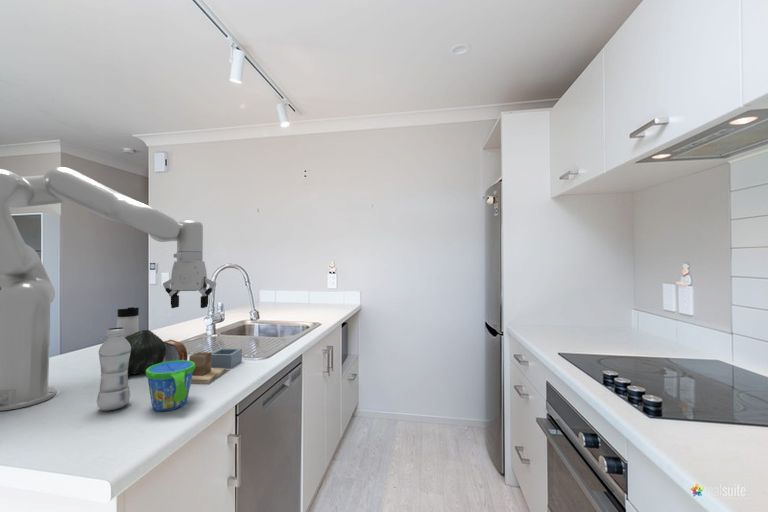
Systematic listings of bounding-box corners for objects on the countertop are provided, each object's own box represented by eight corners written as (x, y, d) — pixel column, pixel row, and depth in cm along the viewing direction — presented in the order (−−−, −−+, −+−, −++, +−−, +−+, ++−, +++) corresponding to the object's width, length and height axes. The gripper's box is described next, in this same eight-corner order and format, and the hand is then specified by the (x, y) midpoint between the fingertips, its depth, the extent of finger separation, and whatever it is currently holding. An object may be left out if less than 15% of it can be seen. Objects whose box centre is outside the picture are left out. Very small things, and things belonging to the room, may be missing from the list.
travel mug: (118, 365, 114) (120, 308, 115) (113, 361, 118) (115, 306, 119) (140, 361, 119) (141, 306, 120) (134, 357, 123) (135, 305, 124)
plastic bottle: (102, 416, 77) (105, 332, 77) (92, 409, 80) (94, 328, 81) (134, 406, 82) (136, 327, 83) (123, 400, 86) (125, 324, 86)
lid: (207, 383, 98) (208, 359, 98) (171, 382, 98) (172, 359, 98) (225, 370, 109) (226, 350, 109) (193, 370, 109) (194, 349, 109)
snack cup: (200, 410, 81) (201, 369, 81) (149, 424, 74) (150, 379, 74) (186, 391, 92) (187, 355, 93) (141, 401, 85) (142, 362, 85)
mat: (208, 385, 96) (209, 384, 97) (165, 385, 97) (166, 383, 97) (230, 371, 110) (230, 370, 110) (192, 370, 110) (192, 369, 110)
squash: (109, 353, 110) (112, 324, 103) (162, 347, 120) (168, 321, 113) (107, 390, 102) (110, 362, 95) (164, 381, 111) (171, 355, 104)
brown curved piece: (188, 367, 113) (188, 343, 113) (178, 370, 110) (179, 345, 110) (167, 360, 121) (167, 337, 121) (157, 362, 118) (158, 339, 118)
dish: (231, 369, 111) (231, 355, 111) (208, 369, 111) (208, 354, 111) (241, 362, 119) (241, 348, 119) (220, 362, 119) (220, 348, 119)
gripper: (156, 257, 106) (156, 309, 106) (210, 257, 106) (209, 309, 106) (171, 257, 113) (170, 306, 113) (221, 257, 114) (220, 306, 114)
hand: (189, 307), depth 110 cm, fingers open, 9 cm apart
